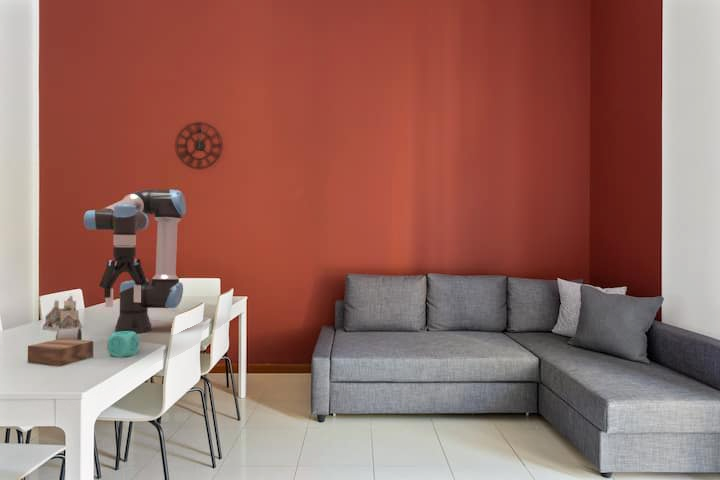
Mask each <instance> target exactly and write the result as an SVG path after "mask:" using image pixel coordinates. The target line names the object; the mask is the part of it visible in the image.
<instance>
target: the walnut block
mask: <svg viewBox="0 0 720 480" xmlns="http://www.w3.org/2000/svg"><path fill="white" fill-rule="evenodd" d="M93 357H94V341H93V340H85V339H82V340H76V339H66V338H61V339H57V340H56V339H53V340H48V341H45V342H40V343H36V344H30V345H28V346H27V363H28V364H29V363H30V364H35V365H37V364H38V365H45V366H53V367H63V366H66V365H69V364H70V365H71V364H72V363H76V362H80V361H83V360H86V359H87V358H88V359H91V358H93ZM88 359H87V360H88Z"/></svg>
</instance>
